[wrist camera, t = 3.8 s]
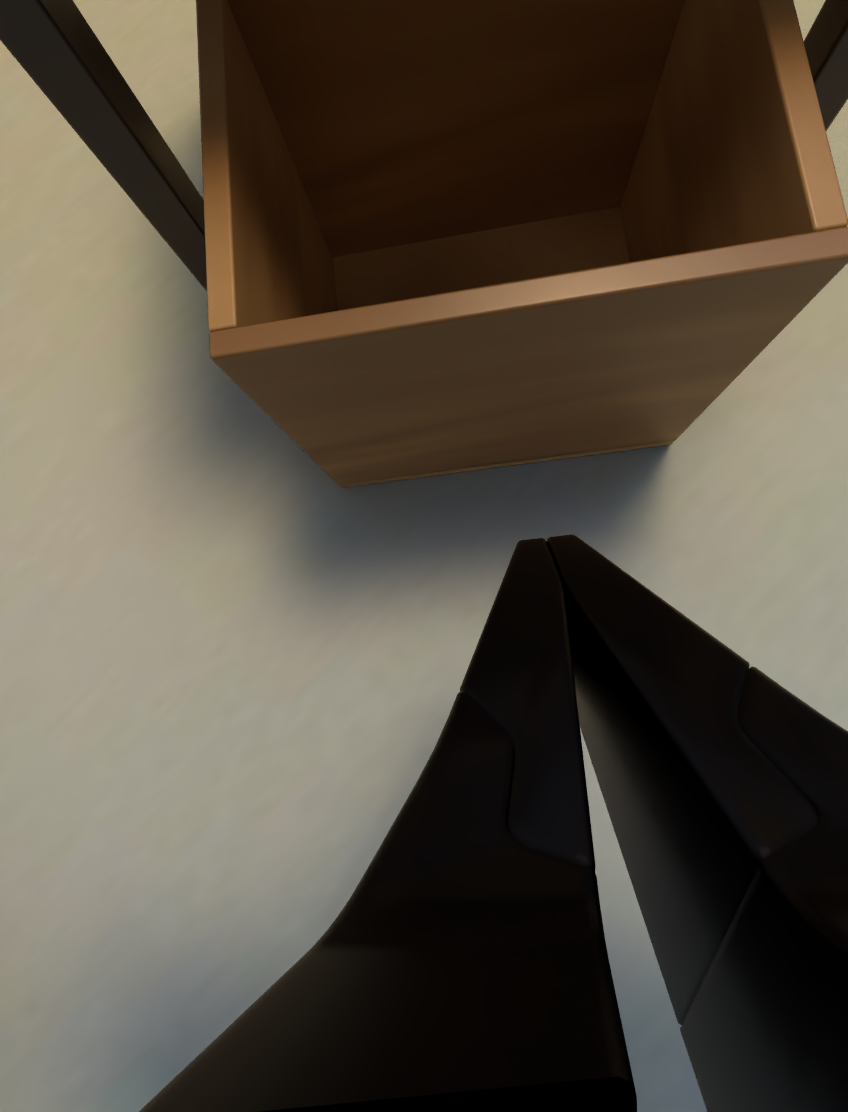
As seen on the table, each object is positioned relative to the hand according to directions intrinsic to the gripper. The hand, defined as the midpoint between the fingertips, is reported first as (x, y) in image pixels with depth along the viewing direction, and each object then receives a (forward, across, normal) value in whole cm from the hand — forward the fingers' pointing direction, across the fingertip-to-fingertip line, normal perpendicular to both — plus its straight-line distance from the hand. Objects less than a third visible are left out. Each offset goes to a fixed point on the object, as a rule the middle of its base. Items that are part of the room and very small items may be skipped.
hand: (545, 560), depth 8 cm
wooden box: (+11, 0, 0) cm, 11 cm away
